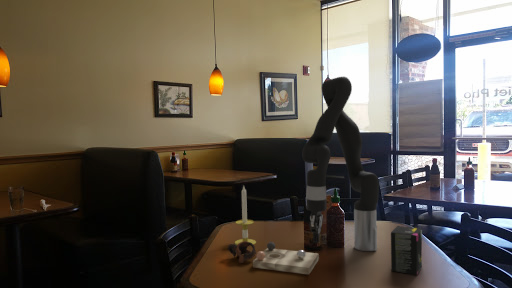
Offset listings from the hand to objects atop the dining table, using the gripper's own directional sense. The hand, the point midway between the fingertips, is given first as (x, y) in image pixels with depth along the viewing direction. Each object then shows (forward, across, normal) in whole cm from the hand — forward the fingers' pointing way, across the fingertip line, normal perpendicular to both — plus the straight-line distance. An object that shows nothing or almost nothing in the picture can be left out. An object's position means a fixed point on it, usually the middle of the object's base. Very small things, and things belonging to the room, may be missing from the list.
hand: (316, 242), depth 148 cm
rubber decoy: (+6, +6, +20) cm, 22 cm away
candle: (+10, +19, +38) cm, 44 cm away
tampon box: (+9, +10, -32) cm, 35 cm away
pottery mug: (+10, -1, +31) cm, 32 cm away
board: (+10, 0, +12) cm, 15 cm away
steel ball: (+5, 0, +6) cm, 8 cm away
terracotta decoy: (+6, -6, +20) cm, 22 cm away
